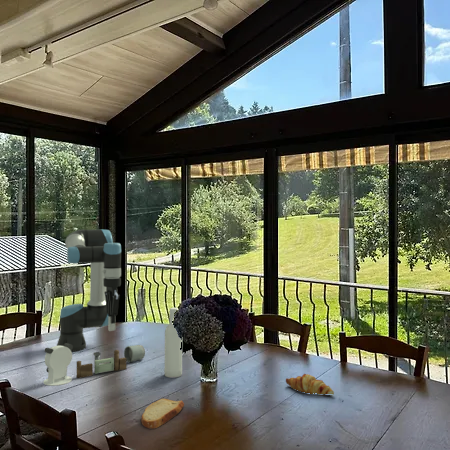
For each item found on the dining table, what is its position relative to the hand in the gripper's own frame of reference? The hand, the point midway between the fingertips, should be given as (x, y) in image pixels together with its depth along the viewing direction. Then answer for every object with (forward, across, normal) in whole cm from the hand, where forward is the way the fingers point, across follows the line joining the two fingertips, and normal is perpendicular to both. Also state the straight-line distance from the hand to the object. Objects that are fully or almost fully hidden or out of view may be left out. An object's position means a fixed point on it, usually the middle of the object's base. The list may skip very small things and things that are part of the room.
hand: (111, 330), depth 198 cm
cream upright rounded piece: (+21, -6, -21) cm, 30 cm away
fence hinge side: (+20, -6, +6) cm, 22 cm away
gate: (+20, -6, -1) cm, 21 cm away
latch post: (+20, -8, -4) cm, 22 cm away
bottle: (+21, +14, +23) cm, 34 cm away
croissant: (+21, +62, +60) cm, 89 cm away
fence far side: (+20, -6, -10) cm, 23 cm away
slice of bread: (+21, +49, +1) cm, 53 cm away
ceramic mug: (+21, -16, +17) cm, 31 cm away
